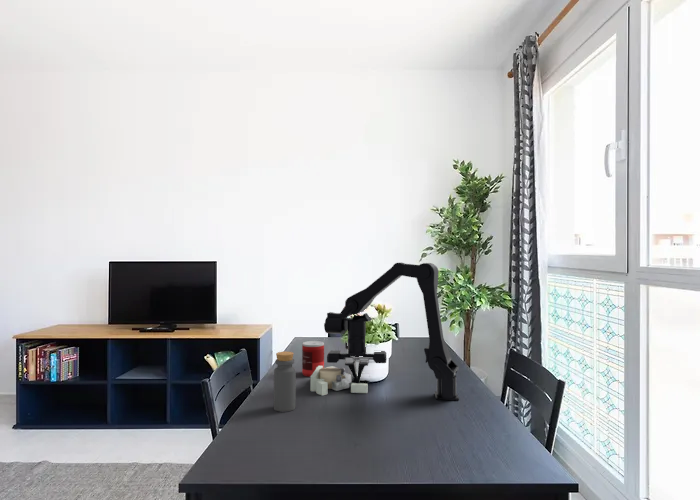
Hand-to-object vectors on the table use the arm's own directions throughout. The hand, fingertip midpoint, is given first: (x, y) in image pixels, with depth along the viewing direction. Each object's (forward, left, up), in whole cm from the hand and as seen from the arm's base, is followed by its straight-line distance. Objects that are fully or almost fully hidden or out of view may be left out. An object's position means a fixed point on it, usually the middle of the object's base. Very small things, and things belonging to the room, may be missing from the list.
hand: (357, 383), depth 142 cm
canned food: (+13, +17, -1) cm, 21 cm away
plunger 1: (-4, +5, -1) cm, 6 cm away
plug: (0, +9, -1) cm, 9 cm away
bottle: (-23, +18, -1) cm, 29 cm away
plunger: (+4, +5, -1) cm, 6 cm away
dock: (0, +5, -1) cm, 5 cm away
